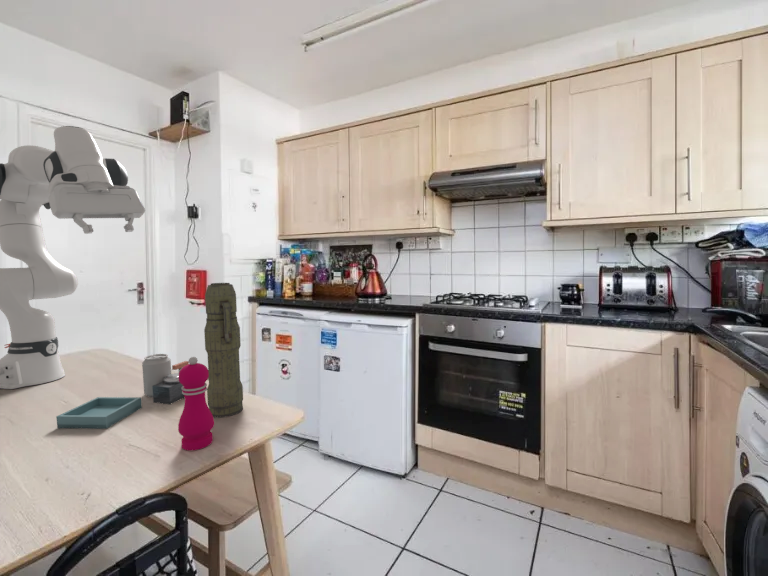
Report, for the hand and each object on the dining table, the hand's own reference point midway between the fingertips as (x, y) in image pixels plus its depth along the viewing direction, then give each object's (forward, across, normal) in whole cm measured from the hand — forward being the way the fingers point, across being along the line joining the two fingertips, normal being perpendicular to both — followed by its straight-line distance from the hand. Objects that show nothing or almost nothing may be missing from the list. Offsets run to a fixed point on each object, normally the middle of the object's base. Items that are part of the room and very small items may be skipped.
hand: (110, 231), depth 97 cm
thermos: (+56, -10, +2) cm, 56 cm away
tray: (+44, +9, -20) cm, 49 cm away
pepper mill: (+58, +5, +12) cm, 60 cm away
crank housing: (+46, -10, -18) cm, 51 cm away
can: (+44, -8, -25) cm, 51 cm away
